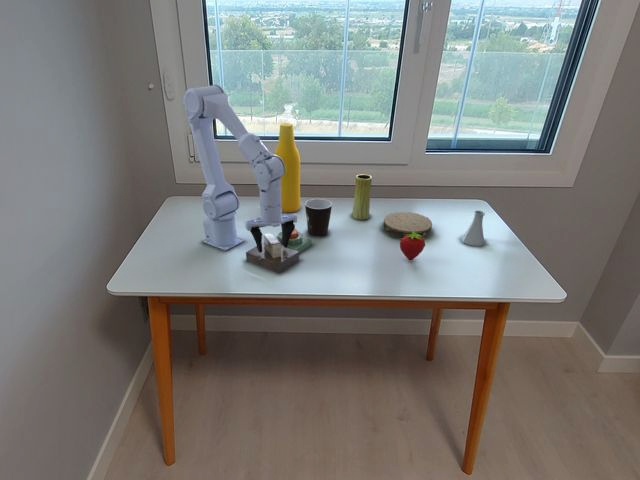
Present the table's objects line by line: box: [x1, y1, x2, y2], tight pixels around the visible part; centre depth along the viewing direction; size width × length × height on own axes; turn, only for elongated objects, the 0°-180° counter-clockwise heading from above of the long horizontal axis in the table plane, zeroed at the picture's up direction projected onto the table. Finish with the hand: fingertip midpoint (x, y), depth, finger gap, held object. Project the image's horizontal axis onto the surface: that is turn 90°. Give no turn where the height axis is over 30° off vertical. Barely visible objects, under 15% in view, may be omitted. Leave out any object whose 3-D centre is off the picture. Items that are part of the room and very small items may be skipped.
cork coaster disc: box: [382, 211, 433, 240], centre depth 150 cm, size 16×16×3 cm
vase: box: [351, 173, 373, 220], centre depth 155 cm, size 6×6×14 cm
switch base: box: [245, 241, 300, 275], centre depth 130 cm, size 12×12×3 cm
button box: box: [274, 230, 312, 253], centre depth 138 cm, size 10×8×4 cm
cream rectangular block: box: [263, 232, 281, 258], centre depth 128 cm, size 8×2×4 cm, turn 26°
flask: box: [461, 210, 486, 247], centre depth 142 cm, size 7×7×10 cm
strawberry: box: [399, 229, 426, 262], centre depth 131 cm, size 6×8×10 cm
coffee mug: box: [304, 198, 333, 238], centre depth 146 cm, size 12×9×10 cm
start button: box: [290, 228, 298, 239], centre depth 137 cm, size 4×4×2 cm
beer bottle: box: [273, 122, 301, 213], centre depth 156 cm, size 9×9×29 cm
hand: (272, 248), depth 128 cm, fingers open, 7 cm apart
